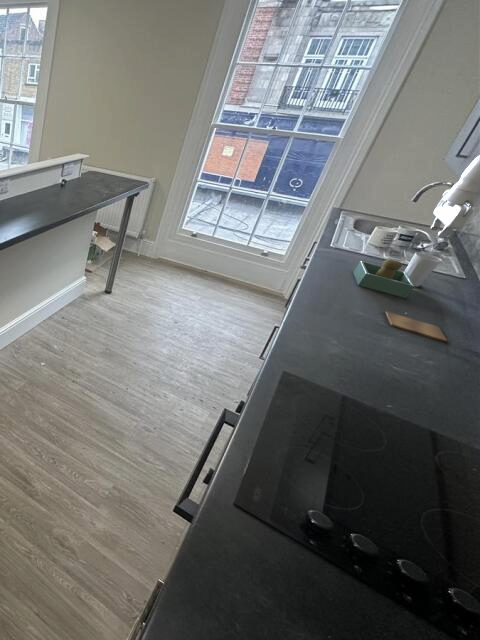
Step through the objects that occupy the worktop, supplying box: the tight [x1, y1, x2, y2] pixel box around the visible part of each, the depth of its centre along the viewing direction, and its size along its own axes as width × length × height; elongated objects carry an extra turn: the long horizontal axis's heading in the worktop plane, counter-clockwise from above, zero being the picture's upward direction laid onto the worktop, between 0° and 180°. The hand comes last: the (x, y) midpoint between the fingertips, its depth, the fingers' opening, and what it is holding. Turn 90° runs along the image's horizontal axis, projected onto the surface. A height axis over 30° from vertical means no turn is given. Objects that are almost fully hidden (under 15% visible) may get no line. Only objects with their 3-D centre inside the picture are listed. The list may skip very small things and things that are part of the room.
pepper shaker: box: [375, 258, 403, 279], centre depth 160 cm, size 6×6×11 cm
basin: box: [352, 260, 416, 299], centre depth 161 cm, size 15×15×6 cm
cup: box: [403, 252, 443, 287], centre depth 164 cm, size 8×8×12 cm
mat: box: [384, 311, 448, 343], centre depth 136 cm, size 14×10×1 cm
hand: (436, 233), depth 151 cm, fingers open, 8 cm apart
